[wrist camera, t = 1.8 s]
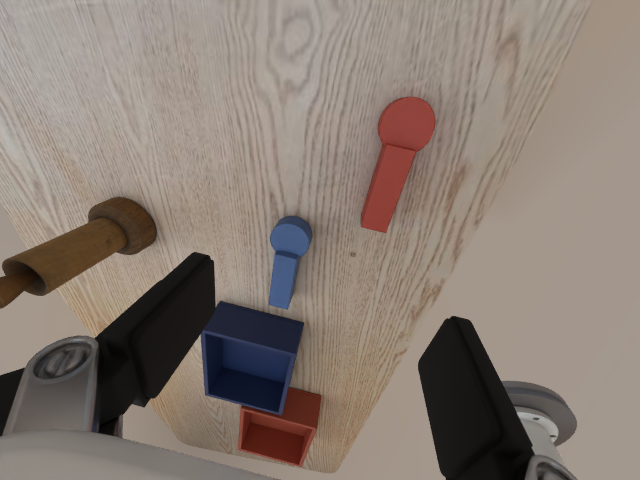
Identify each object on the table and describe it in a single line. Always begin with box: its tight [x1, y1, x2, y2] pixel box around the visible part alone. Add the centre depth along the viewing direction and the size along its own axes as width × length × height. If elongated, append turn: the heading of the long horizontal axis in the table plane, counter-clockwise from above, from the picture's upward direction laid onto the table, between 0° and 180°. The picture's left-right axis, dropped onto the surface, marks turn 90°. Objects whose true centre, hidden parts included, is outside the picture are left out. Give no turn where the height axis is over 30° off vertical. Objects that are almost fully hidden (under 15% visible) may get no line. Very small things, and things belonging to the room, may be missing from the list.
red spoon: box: [361, 97, 435, 233], centre depth 22 cm, size 11×4×3 cm, turn 169°
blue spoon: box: [269, 216, 312, 309], centre depth 28 cm, size 11×4×3 cm, turn 169°
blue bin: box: [201, 301, 304, 416], centre depth 36 cm, size 15×12×5 cm
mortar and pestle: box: [0, 198, 156, 309], centre depth 23 cm, size 7×6×18 cm
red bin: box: [238, 387, 321, 467], centre depth 44 cm, size 15×12×5 cm
